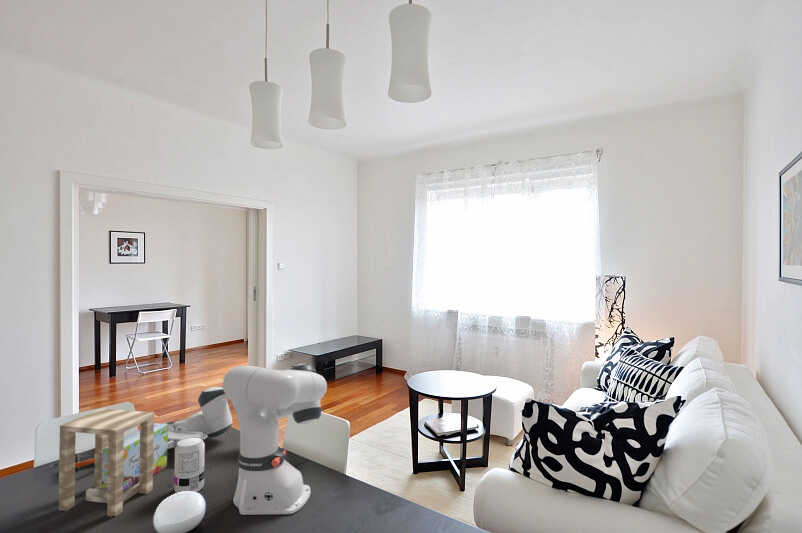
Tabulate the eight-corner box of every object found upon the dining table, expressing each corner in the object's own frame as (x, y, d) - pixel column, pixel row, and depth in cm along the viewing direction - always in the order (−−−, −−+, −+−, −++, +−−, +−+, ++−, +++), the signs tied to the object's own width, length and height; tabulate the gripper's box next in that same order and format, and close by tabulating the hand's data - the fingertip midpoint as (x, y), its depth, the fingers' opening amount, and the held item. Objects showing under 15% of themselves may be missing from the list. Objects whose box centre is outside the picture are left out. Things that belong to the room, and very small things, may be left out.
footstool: (154, 488, 128) (155, 411, 128) (115, 516, 113) (116, 430, 113) (103, 483, 130) (104, 407, 130) (58, 510, 116) (59, 425, 116)
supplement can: (168, 493, 125) (168, 444, 125) (190, 480, 133) (191, 434, 133) (187, 499, 122) (188, 449, 122) (209, 485, 130) (210, 438, 130)
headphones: (103, 441, 155) (123, 443, 143) (104, 455, 154) (124, 459, 142) (45, 457, 141) (62, 461, 130) (46, 473, 141) (63, 479, 129)
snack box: (116, 501, 121) (117, 450, 121) (100, 499, 121) (100, 448, 121) (168, 466, 142) (168, 423, 141) (153, 465, 142) (154, 421, 142)
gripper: (210, 442, 154) (185, 460, 141) (161, 438, 157) (132, 455, 144) (210, 426, 154) (186, 441, 141) (161, 422, 157) (132, 437, 144)
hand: (158, 448), depth 142 cm, fingers closed, pressing on snack box
